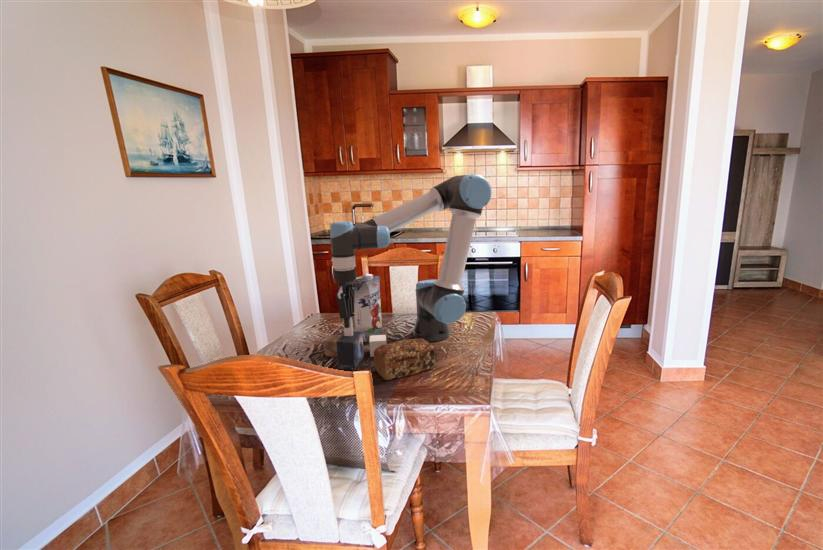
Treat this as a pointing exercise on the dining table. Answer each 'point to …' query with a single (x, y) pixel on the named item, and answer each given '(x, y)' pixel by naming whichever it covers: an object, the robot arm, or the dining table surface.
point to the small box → (350, 351)
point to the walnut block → (331, 345)
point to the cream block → (376, 342)
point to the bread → (404, 358)
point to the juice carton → (367, 306)
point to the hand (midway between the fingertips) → (348, 335)
